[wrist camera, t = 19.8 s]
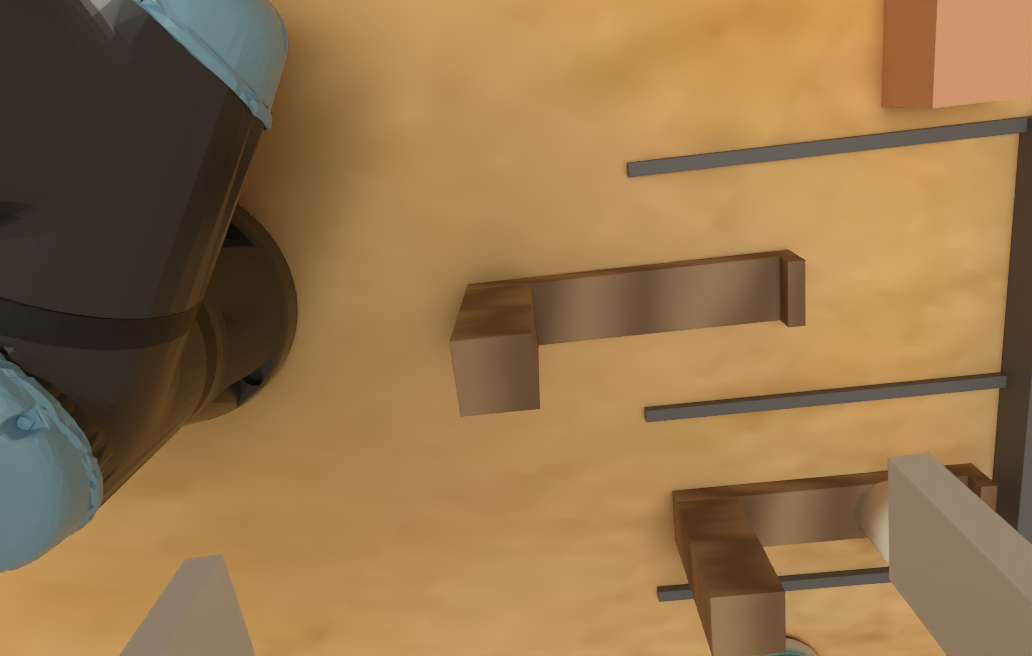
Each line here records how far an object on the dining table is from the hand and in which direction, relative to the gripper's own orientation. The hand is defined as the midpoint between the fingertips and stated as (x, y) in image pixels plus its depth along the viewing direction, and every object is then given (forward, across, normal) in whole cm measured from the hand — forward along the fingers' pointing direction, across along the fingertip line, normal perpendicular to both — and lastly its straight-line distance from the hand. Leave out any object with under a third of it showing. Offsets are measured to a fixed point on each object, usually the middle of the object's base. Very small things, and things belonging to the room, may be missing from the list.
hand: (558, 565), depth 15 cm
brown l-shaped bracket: (+33, +17, -21) cm, 43 cm away
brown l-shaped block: (+33, +6, -5) cm, 34 cm away
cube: (+33, +25, +7) cm, 42 cm away
